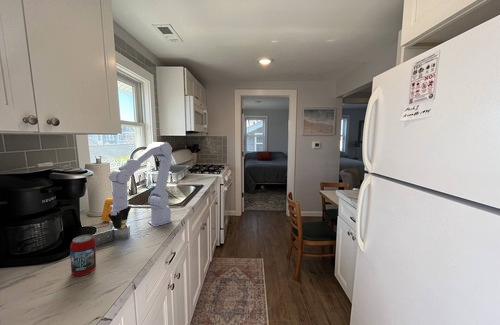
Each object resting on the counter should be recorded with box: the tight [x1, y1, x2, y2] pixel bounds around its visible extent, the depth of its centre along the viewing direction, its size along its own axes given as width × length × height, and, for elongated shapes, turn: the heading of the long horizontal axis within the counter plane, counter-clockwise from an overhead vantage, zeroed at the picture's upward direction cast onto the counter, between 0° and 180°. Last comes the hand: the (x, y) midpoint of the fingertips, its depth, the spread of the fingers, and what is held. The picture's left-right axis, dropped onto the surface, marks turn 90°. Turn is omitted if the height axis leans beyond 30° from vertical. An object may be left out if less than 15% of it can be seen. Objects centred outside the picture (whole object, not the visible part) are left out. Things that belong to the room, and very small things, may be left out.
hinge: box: [92, 221, 131, 247], centre depth 97 cm, size 14×14×5 cm
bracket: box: [101, 197, 113, 222], centre depth 119 cm, size 11×7×12 cm, turn 179°
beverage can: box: [69, 234, 97, 277], centre depth 73 cm, size 7×7×12 cm
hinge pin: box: [120, 218, 128, 229], centre depth 98 cm, size 4×4×8 cm
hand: (120, 225), depth 98 cm, fingers open, 7 cm apart
